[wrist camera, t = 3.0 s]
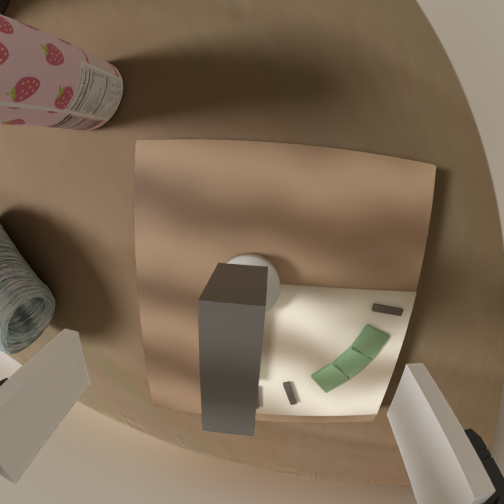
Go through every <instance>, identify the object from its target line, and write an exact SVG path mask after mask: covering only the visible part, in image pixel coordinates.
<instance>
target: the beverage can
mask: <svg viewBox="0 0 504 504" xmlns="http://www.w3.org/2000/svg"><path fill="white" fill-rule="evenodd" d="M122 94H123V81H122V77H121V74H120V72H119V71H118V69H117V68H116V67H114V66H113V65H112V64H110V63H108V62H106V61H104V60H102V59H100V58H98V57H96V56H94V55H92V54H90V53H88V52H86V51H84V50H82V49H80V48H78V47H76V46H74V45H72V44H70V43H68V42H65V41H63V40H61V39H59V38H57V37H55V36H52V35H50V34H48V33H46V32H43V31H41V30H39V29H36V28H34V27H32V26H29V25H27V24H24V23H22V22H19V21H17V20H14V19H12V18H9V17H6V16H4V15H1V14H0V124H7V125H26V126H40V127H52V128H63V129H72V130H81V131H90V130H93V129H96V128H98V127H100V126H102V125H103V124H105V123H106V122H107V121H108V120H109V119H110V118H111V117H112V116H113V114H114V113H115V111H116V110H117V108H118V106H119V104H120V101H121V98H122Z"/></svg>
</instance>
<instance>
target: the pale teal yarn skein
mask: <svg viewBox="0 0 504 504" xmlns="http://www.w3.org/2000/svg"><path fill="white" fill-rule="evenodd" d="M54 310H55V299H54V297H53V295H52V293H51V291H50V289H49V288H48V286H47V285H45V284H44V283H43V282H42V281H41V280H40V279H39V277H38V276H37V275H36V274H35V273H34V271H33V270H32V269H31V267H30V266H29V265H28V263H27V262H26V261H25V259H24V258H23V256H22V255H21V254H20V253H19V251H18V250H17V248H16V246H15V245H14V243H13V242H12V240H11V239H10V237H9V236H8V234H7V233H6V231H5V230H4V228H3V226H2V225H1V224H0V351H2V352H5V353H7V354H14V353H18V352H20V351H22V350H23V349H25V348H27V347H28V346H29V345H31V344H32V343H33V342H34V341H35V340H36V339H37V338H38V337H39V336H40V335H41V334H42V333H43V331H44V330H45V329H46V328H47V327H48V325H49V323H50V321H51V319H52V316H53V314H54Z"/></svg>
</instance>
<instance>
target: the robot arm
mask: <svg viewBox="0 0 504 504" xmlns="http://www.w3.org/2000/svg"><path fill="white" fill-rule="evenodd" d="M8 1H9V0H0V14H1V15H2V14H3V12H4V10H5V8H6V6H7V4H8ZM90 384H91V382H90V378H89V374H88V371H87V367H86V363H85V359H84V354H83V350H82V346H81V341H80V336H79V332H77V331H73V330H69V329H64V330H62V331H61V332H60V333H59V334H58V335H57V336H55V337H54V338H53V339H52V340H51V341H50V342H49V343H47V344H46V345H45V346H44V347H43V348H42V349H41V350H39V351H38V352H37V353H36V354H35V355H34V356H33V357H32V358H30V359H29V360H28V361H27V362H26V363H25V364H24V365H23V366H22V367H21V368H20V369H18V370H17V371H16V372H15V373H14V374H13V375H12V376H11V377H10V378H9V379H8V378H5V379H3V380H1V381H0V474H1V475H2V476H3V477H5V478H6V479H8V480H9V481H11V482H12V483H14V484H16V483H17V482H18V480H19V479H20V477H21V476H22V474H23V473H24V472H25V470H26V469H27V467H28V466H29V465H30V463H31V462H32V460H33V459H34V458H35V456H36V455H37V453H38V452H39V451H40V449H41V448H42V447H43V445H44V444H45V443H46V441H47V440H48V438H49V437H50V436H51V434H52V433H53V432H54V430H55V429H56V428H57V426H58V425H59V424H60V422H61V421H62V420H63V418H64V417H65V416H66V414H67V413H68V412H69V411H70V409H71V408H72V407H73V405H74V404H75V403H76V401H77V400H78V399H79V398H80V396H81V395H82V394H83V392H84V391H85V390H86V389H87V387H88V386H89V385H90ZM387 417H388V419H389V422H390V425H391V427H392V430H393V433H394V436H395V438H396V441H397V444H398V447H399V450H400V453H401V455H402V458H403V461H404V464H405V467H406V470H407V473H408V476H409V479H410V482H411V485H412V488H413V492H414V495H415V498H416V501H417V504H504V478H503V476H502V474H501V472H500V470H499V468H498V466H497V465H496V463H495V461H494V459H493V458H491V454H490V452H489V450H488V449H486V448H487V447H486V445H485V443H484V442H483V440H482V438H481V437H480V436H479V435H478V434H477V433H476V432H474V431H473V430H472V429H467V430H463V428H462V426H461V425H460V423H459V421H458V419H457V418H456V416H455V414H454V413H453V411H452V409H451V408H450V406H449V404H448V403H447V401H446V399H445V398H444V396H443V394H442V393H441V391H440V390H439V388H438V386H437V385H436V383H435V382H434V380H433V378H432V377H431V375H430V374H429V372H428V371H427V369H426V368H425V366H424V364H423V363H415V364H406V366H405V369H404V372H403V375H402V377H401V380H400V383H399V385H398V388H397V390H396V393H395V396H394V398H393V400H392V403H391V405H390V408H389V410H388V412H387Z"/></svg>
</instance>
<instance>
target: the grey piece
mask: <svg viewBox="0 0 504 504" xmlns="http://www.w3.org/2000/svg"><path fill="white" fill-rule="evenodd" d="M279 294H280V278H279V274H278V271H277V269H276V268H275V266H274V265H273V264H272V263H271V262H270V261H269V260H268V259H267V258H265V257H263V256H261V255H258V254H253V253H243V254H239V255H236V256H234V257H232V258H231V259H229V260H228V261H227V262H226V263H218V264H217V266H216V268H215V270H214V272H213V273H212V275H211V277H210V279H209V281H208V283H207V284H206V286H205V288H204V290H203V292H202V294H201V296H200V297H199V299H198V332H199V367H200V391H201V410H202V427H203V430H205V431H212V432H220V433H228V434H238V435H248V436H253V435H254V426H255V416H256V406H257V396H258V386H259V376H260V365H261V355H262V344H263V333H264V322H265V313H266V312H267V311H269V310H270V309H271V308H272V307H273V306H274V305H275V303H276V302H277V300H278V297H279Z"/></svg>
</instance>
